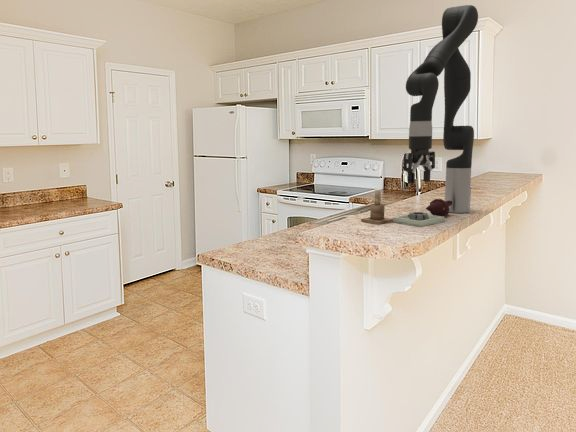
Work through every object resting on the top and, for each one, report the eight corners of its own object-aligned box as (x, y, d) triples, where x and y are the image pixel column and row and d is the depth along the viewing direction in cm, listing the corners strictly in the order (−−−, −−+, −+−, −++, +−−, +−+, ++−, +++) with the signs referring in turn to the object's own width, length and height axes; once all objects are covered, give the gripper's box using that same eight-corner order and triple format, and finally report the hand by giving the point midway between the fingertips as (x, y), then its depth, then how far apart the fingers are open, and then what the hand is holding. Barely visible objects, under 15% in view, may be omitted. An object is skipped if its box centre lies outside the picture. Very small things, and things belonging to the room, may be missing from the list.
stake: (376, 218, 169) (376, 188, 167) (393, 221, 162) (394, 190, 161) (360, 221, 164) (361, 190, 162) (378, 224, 158) (379, 192, 156)
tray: (416, 217, 170) (416, 212, 170) (444, 221, 161) (444, 216, 161) (392, 222, 162) (392, 217, 161) (420, 226, 153) (420, 221, 152)
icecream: (437, 202, 163) (461, 202, 172) (421, 195, 168) (444, 195, 177) (431, 221, 165) (455, 219, 174) (415, 213, 170) (439, 212, 180)
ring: (433, 220, 160) (433, 213, 159) (422, 223, 156) (422, 215, 156) (414, 217, 166) (414, 211, 166) (403, 219, 162) (403, 212, 162)
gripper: (416, 135, 149) (415, 185, 152) (442, 134, 158) (440, 181, 161) (397, 135, 155) (396, 183, 158) (424, 134, 164) (422, 180, 167)
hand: (419, 182), depth 160 cm, fingers open, 8 cm apart
